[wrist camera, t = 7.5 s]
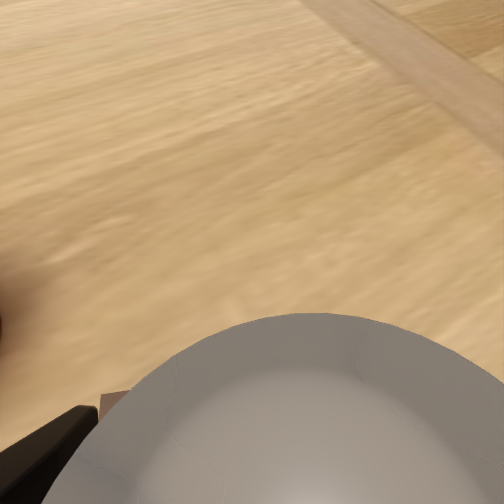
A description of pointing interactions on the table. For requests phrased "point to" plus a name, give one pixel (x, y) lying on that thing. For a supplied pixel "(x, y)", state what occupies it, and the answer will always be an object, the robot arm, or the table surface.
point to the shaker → (299, 422)
